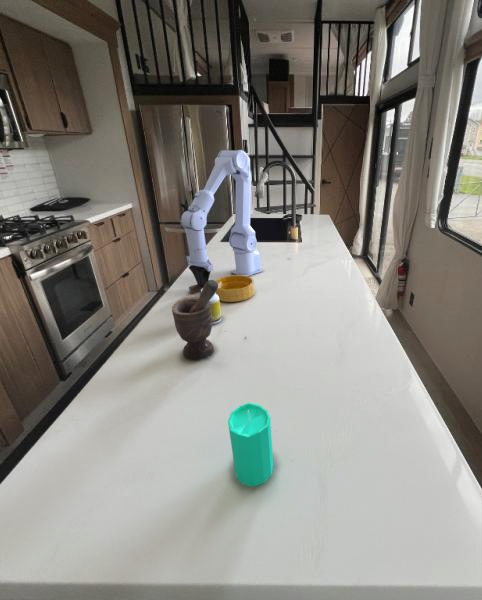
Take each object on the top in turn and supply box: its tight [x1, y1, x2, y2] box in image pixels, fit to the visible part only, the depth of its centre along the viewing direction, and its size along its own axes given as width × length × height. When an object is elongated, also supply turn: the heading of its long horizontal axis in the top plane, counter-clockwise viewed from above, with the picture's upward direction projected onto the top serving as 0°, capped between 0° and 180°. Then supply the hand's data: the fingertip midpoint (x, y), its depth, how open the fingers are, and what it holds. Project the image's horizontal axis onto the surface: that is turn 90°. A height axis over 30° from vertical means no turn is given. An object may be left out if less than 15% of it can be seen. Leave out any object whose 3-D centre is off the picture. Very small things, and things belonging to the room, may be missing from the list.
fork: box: [188, 283, 203, 295], centre depth 116 cm, size 16×2×2 cm, turn 134°
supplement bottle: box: [200, 288, 223, 325], centre depth 92 cm, size 5×5×10 cm
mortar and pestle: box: [171, 279, 218, 362], centre depth 75 cm, size 12×9×20 cm
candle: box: [227, 402, 274, 487], centre depth 48 cm, size 6×6×12 cm
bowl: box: [215, 274, 255, 303], centre depth 108 cm, size 13×13×4 cm
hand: (202, 285), depth 114 cm, fingers closed
